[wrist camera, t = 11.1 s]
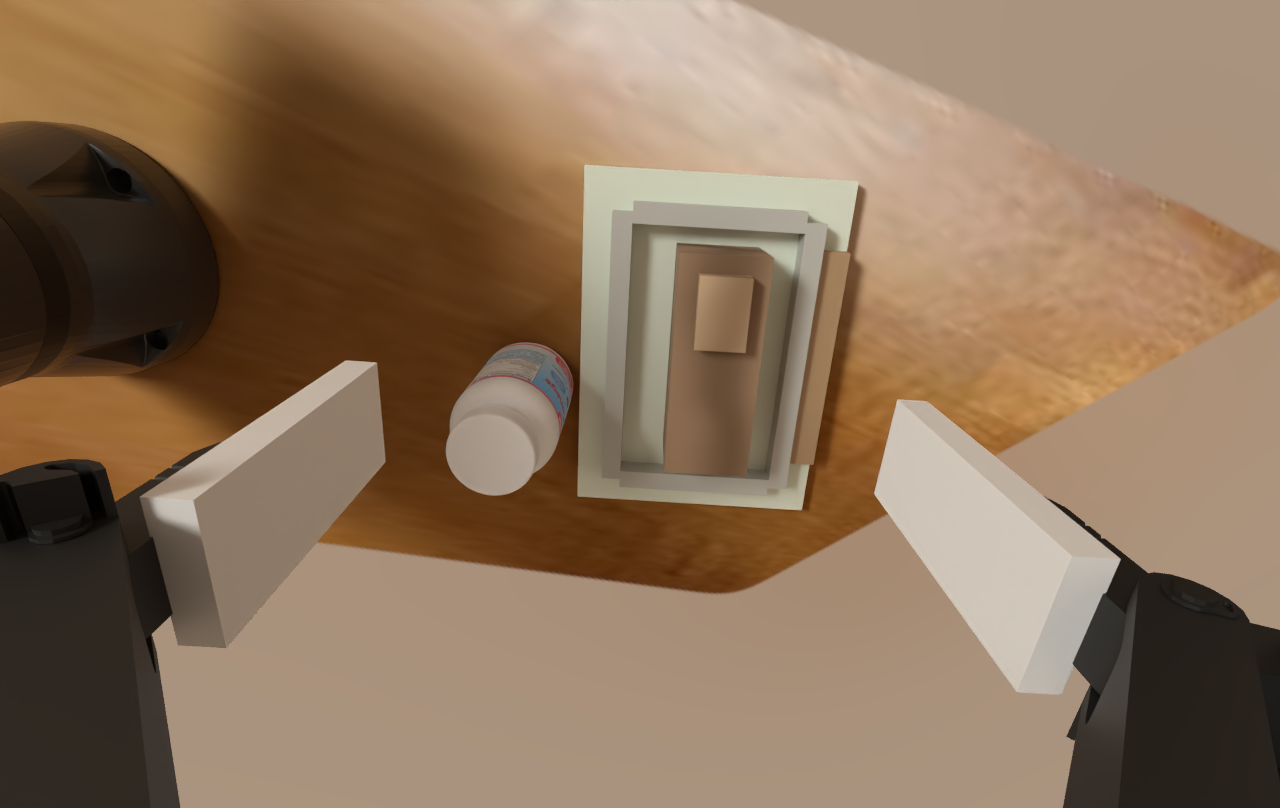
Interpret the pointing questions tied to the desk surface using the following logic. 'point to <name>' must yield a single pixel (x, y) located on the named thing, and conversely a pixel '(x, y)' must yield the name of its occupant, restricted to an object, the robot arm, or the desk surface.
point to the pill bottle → (509, 418)
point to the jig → (641, 322)
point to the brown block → (714, 357)
